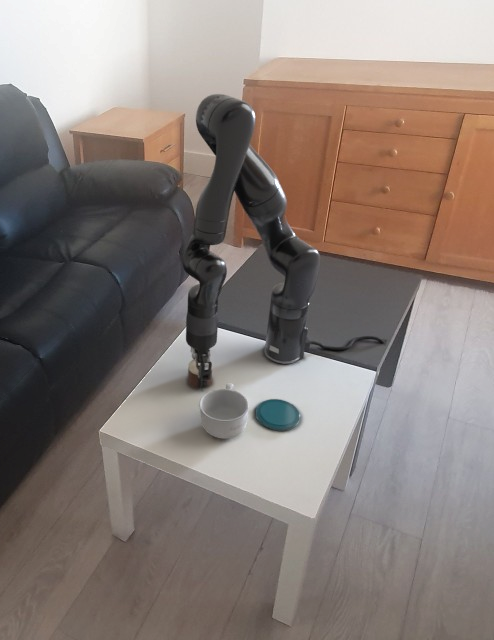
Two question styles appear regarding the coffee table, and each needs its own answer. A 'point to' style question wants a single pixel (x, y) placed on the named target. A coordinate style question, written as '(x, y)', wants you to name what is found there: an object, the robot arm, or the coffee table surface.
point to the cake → (195, 375)
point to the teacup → (223, 412)
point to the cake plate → (277, 415)
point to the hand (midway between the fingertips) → (199, 378)
